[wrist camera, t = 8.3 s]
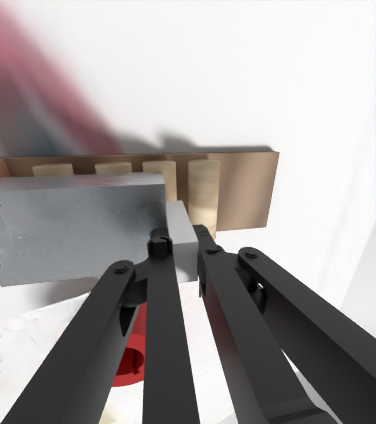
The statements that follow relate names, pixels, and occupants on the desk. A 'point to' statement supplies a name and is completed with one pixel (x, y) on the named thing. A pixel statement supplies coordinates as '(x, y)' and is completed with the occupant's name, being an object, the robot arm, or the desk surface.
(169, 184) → the cylinder
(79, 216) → the slab
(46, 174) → the roller
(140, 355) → the lever
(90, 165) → the board
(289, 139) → the desk surface
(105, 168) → the roller
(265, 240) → the desk surface
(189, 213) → the roller
